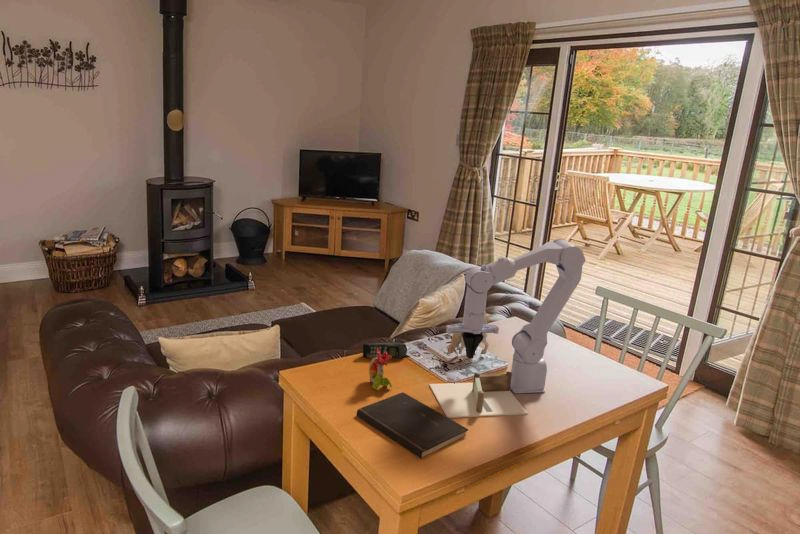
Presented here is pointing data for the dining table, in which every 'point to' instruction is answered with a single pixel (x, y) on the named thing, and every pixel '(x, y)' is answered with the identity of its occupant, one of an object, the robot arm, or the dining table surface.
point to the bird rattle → (379, 370)
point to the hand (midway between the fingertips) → (469, 356)
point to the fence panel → (478, 395)
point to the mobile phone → (384, 349)
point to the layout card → (462, 401)
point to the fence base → (494, 381)
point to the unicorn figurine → (458, 339)
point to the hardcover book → (411, 424)
